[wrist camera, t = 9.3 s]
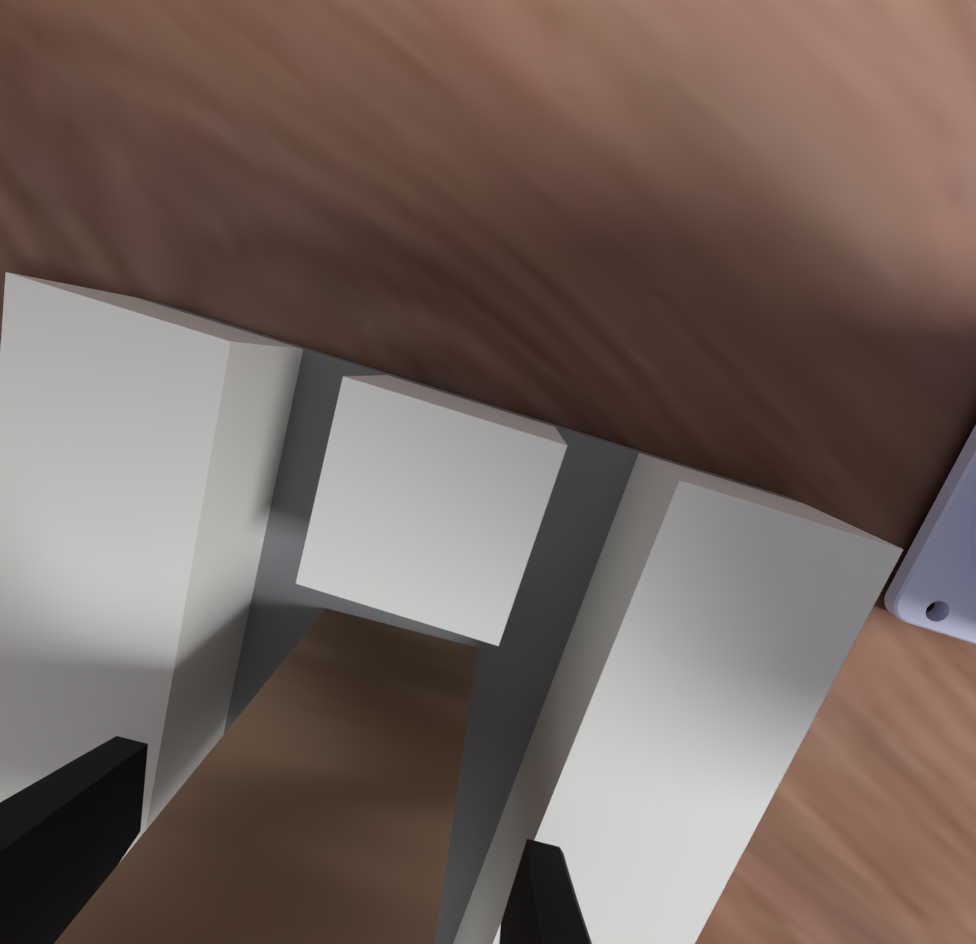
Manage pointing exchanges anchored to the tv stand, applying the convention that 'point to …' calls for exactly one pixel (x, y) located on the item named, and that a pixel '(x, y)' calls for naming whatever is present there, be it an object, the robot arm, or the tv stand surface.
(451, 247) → the tv stand surface
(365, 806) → the walnut pin
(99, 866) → the robot arm
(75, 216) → the tv stand surface
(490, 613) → the socket block
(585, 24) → the tv stand surface
